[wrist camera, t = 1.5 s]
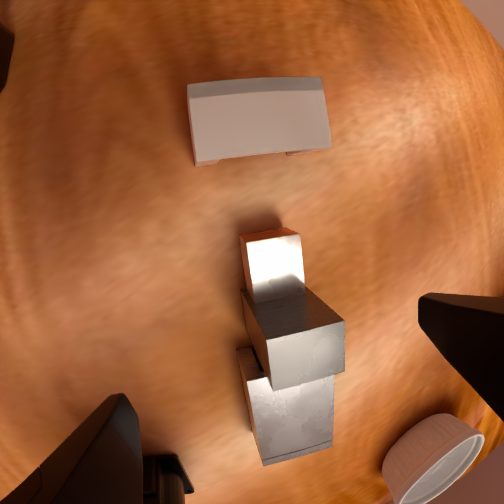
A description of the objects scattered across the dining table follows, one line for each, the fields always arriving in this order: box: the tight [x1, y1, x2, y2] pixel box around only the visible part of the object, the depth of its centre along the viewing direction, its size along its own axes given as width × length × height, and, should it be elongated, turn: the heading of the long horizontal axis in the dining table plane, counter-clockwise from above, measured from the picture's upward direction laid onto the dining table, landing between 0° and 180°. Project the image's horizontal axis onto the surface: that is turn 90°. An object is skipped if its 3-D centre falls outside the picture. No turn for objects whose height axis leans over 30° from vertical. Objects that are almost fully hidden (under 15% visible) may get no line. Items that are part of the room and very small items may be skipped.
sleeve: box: [236, 347, 334, 466], centre depth 21 cm, size 9×6×4 cm, turn 8°
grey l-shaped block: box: [239, 228, 345, 392], centre depth 18 cm, size 16×4×7 cm, turn 8°
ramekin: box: [382, 413, 484, 504], centre depth 26 cm, size 13×13×7 cm
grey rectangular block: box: [187, 77, 332, 167], centre depth 16 cm, size 4×7×4 cm, turn 98°
